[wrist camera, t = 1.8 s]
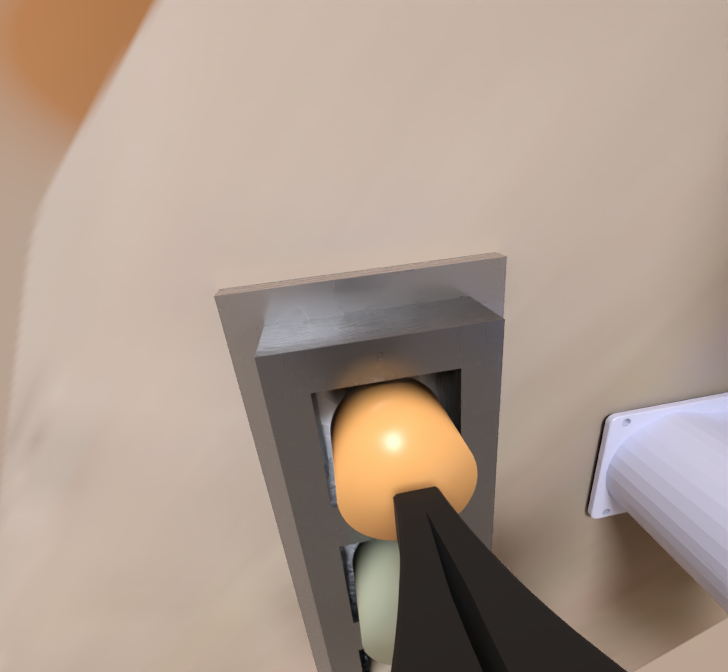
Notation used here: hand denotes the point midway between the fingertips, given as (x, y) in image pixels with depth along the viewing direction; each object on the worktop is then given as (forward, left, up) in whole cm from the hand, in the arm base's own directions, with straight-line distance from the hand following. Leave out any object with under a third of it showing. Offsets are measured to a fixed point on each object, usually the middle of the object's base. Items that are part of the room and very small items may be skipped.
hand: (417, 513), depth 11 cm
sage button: (0, +8, -4) cm, 9 cm away
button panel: (0, +8, -7) cm, 11 cm away
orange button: (0, 0, -4) cm, 4 cm away
